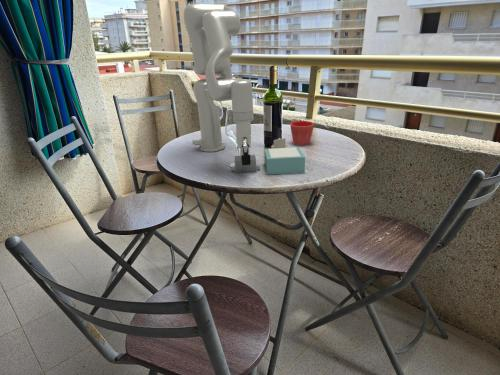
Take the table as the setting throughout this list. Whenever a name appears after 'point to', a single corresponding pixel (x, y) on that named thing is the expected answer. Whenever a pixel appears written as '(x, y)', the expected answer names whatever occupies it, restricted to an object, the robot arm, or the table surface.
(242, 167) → the block
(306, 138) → the flower pot
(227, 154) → the table surface
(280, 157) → the stand
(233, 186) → the table surface
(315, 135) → the table surface
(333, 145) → the table surface
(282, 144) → the architectural model
